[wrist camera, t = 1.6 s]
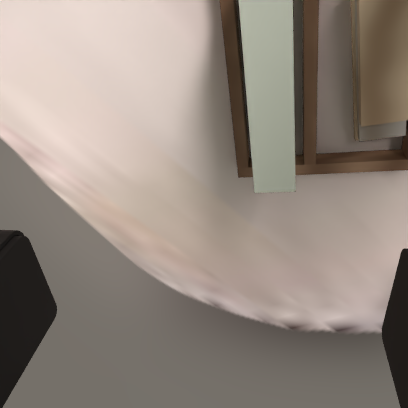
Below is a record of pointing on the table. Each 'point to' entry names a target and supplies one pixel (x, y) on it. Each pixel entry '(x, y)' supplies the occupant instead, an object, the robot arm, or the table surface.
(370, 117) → the offcut stack
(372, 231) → the table surface
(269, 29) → the pale green rectangular block
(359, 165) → the rack
